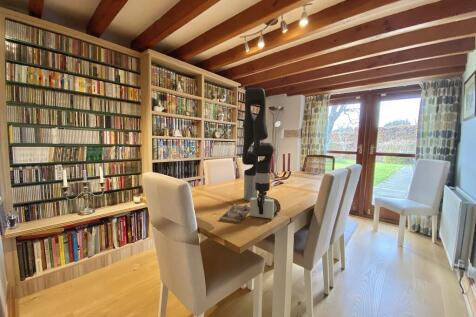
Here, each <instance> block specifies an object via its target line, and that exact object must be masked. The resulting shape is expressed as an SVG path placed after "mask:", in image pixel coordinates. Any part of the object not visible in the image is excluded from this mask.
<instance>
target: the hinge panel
mask: <svg viewBox="0 0 476 317" xmlns="http://www.w3.org/2000/svg"><path fill="white" fill-rule="evenodd" d="M248 214H250V206H248V204H243V205H237V203H234V204H233V205H232V206H231V207H230V208H228V209H227V210H226V212H224V214H222V215H221V217H219V222H220V221H221V222H226V223H234V224H241V223H242V222H243V221H244V220H245V219H246V217H247V216H248Z"/></svg>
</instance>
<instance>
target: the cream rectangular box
mask: <svg viewBox="0 0 476 317" xmlns="http://www.w3.org/2000/svg"><path fill="white" fill-rule="evenodd" d="M260 205H261V204H260ZM249 207H250V211H249V216H250V217H256V218H257V217H258V218H264V219H274V216H275V214H274V200H272V199H265V203H264V207H263V215H261V214H259V207H258V203H257V198H251V199H250V201H249Z"/></svg>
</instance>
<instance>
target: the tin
mask: <svg viewBox="0 0 476 317" xmlns="http://www.w3.org/2000/svg"><path fill="white" fill-rule="evenodd" d="M266 199H272V200H274V215H275V214H278V213H279V212H280V211H281V208H282V207H281V203H280V201H278V199H276V198H273V197H270V196H267V195H266Z"/></svg>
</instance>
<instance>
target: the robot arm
mask: <svg viewBox="0 0 476 317" xmlns="http://www.w3.org/2000/svg"><path fill="white" fill-rule="evenodd" d="M266 101H267V100H266V92H265V89H264V88H262V87H248V88H246V89H245V90H244V124H243V145H242V146H243V147H242V155H241V157H242V158H241V161H242V164H243V165H245V166H251V167H250V168H248V169H245V170H244V171H243V173H244V174H243V200H244V201H247V202H250V199H251V198H257V203H258V207H259V214H261V215H263V207H264V203H265V199H266V196H267V194H268V191H270V190H271V189H270V184H271V183H270V182H271V180H270V179H271V176H270V165H271V162H272V158H273V154H274V152H275V151H274V149H275V148H274V146H273V144H272V143H271V142H261V141H264V140H267V138H268V137H269V134H268V126H267V114H266V112H267V111H266V110H267V109H266V108H267V106H266V104H267V103H266ZM252 106H259V110H258V112H257V115H256V116H255V115H254V114H253V111H252V108H251V107H252ZM252 145H253V147H252V150H251V151H249V149H250V148H251V146H252ZM259 157H264V158H263V159H262V160H259ZM260 204H261V205H260Z"/></svg>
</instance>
